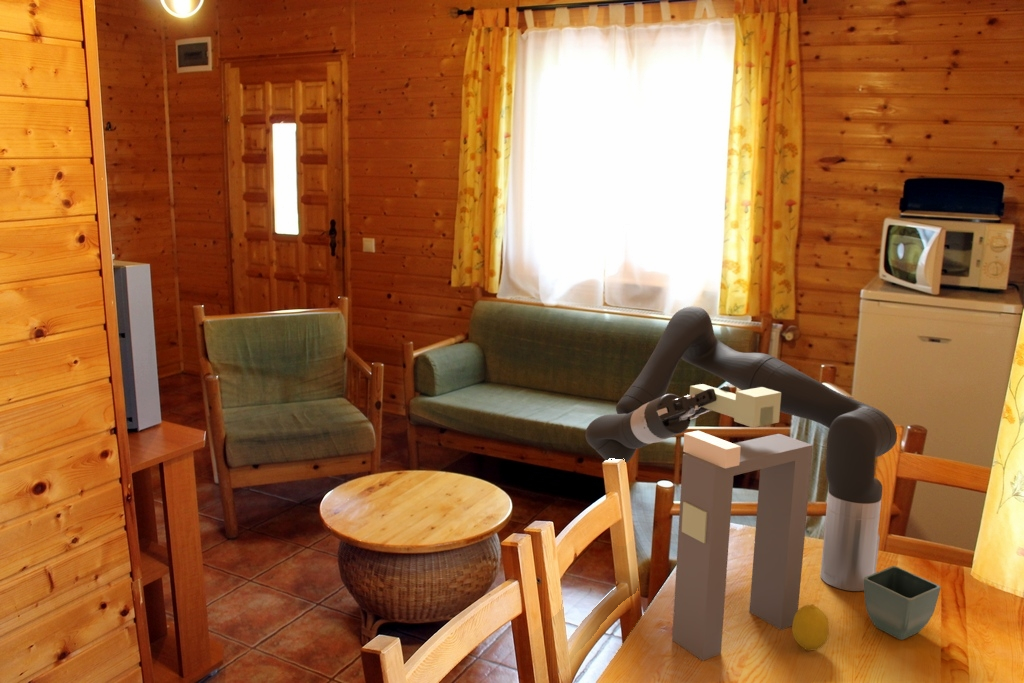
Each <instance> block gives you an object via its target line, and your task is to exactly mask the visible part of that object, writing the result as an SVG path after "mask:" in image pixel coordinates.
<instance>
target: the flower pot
mask: <svg viewBox="0 0 1024 683" xmlns="http://www.w3.org/2000/svg"><path fill="white" fill-rule="evenodd" d="M941 588H942V586H941V585H939V584H937V583H935V582H932V581H930V580H928V579H926V578H923V577H921V576H919V575H916V574H914V573H912V572H909V571H908V570H906V569H903V568H901V567H899V566H896V565H892V566H890V567H887V568H884V569H882V570H880V571H878V572H877V571H876V573H874V574H872V575H869V576H866V577H864V590H863V593H864V604H865V609H866V612H867V615H868V617H869V619H870V621H871V622H872V624H873V626H874V627H875V628H877V629H878V630H880V631H882V632H884V633H886V634H889V635H890V636H892V637H894V638H895V639H898V640H900V641H904V640H905V639H907V638H910V637H911V636H914V635H916V634H918V633H919V632H921V630H923V628H925V626H926V625H927V624H928V623H929V622H930V620H931V619H932V616H933V615H934V614H935V613H934V612H935V609H936V606H937V602H938V600H939V595H940V591H941Z"/></svg>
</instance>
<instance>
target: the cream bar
mask: <svg viewBox="0 0 1024 683" xmlns="http://www.w3.org/2000/svg"><path fill="white" fill-rule="evenodd" d="M733 443H734V442H733ZM733 443H732V442H730V441H727V440H724V439H722V438H719V437H717V436H714V435H713V434H712V435H711V434H709V433H707V432H706V433H705V432H703V431H701V430H694V431H689V432H683V451H682V452H684V453H685V454H686V453H688V454H691V455H693V456H696V457H698V458H700V459H703V460H705V461H708V462H710V463H713V464H715V465H718V466H720V467H722V468H730V467H734V466H738V465H739V463H740V449H741V446H739V445H736V444H733Z"/></svg>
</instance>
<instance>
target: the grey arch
mask: <svg viewBox="0 0 1024 683" xmlns="http://www.w3.org/2000/svg"><path fill="white" fill-rule="evenodd" d="M733 444H736V445H739V446H741V449H740V463H739V465H738V466H734V467H730V468H722V467H720V466H718V465H715V464H713V463H710V462H708V461H705V460H703V459H700V458H698V457H696V456H693V455H691V454H688V453H686V452H685V453H683V454H682V466H681V481H680V482H681V483H680V499H679V500H680V501H679V515H678V516H679V517H678V529H677V530H678V534H677V551H676V567H675V568H676V569H675V587H674V602H673V617H672V618H673V620H672V621H673V622H672V633H671V635H672V637H671V638H672V639H671V641H673V642H675V643H676V644H678V645H679V646H680V647H682V648H683V649H685V650H686V651H687V652H689V653H690V654H692V655H693V656H695V657H696V658H698V659H699V660H701V661H702V662H704V661H707V660H708V659H711V658H714V657H716V656H719V655H722V654H721V653H722V646H723V645H722V644H723V642H722V641H723V629H724V615H725V600H726V599H725V598H726V588H727V587H726V586H727V571H728V557H729V546H730V545H729V543H730V529H731V517H732V516H731V514H732V503H733V502H732V500H733V488H734V476H738V475H741V474H746V473H750V472H755V471H759V470H760V471H759V481H758V496H757V504H756V505H757V507H756V518H755V532H754V543H753V544H754V546H753V559H752V572H751V573H752V574H751V582H750V583H751V585H750V597H749V598H750V599H749V607H748V608H749V609H748V611H749V613H751V614H752V615H754V616H756V617H758V618H759V619H761V620H762V621H765V622H766V623H768V624H769V625H771V626H772V627H775V628H776V629H778V630H780V631H782V630H784V629H787V628H790V627H792V625H793V619H794V616H795V614H796V612H797V611H798V610H799V602H800V592H801V591H800V590H801V582H802V571H803V557H804V550H805V549H804V548H805V537H806V526H807V515H808V505H809V504H808V502H809V493H810V481H811V470H812V469H811V468H812V461H813V460H812V458H813V448H814V445H813V444H811V443H808V442H805V441H803V440H800V439H797V438H793V437H791V436H788V435H784V434H781V433H776V434H769V435H766V436H762V437H756V438H752V439H747V440H744V441H738V442H733Z"/></svg>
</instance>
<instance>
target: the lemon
mask: <svg viewBox="0 0 1024 683" xmlns="http://www.w3.org/2000/svg"><path fill="white" fill-rule="evenodd" d="M791 628H792V629H791V630H792V635H793V637H794V640H795V641H796V643H797V644H798V645H799V646H801V648H803V649H805V650H806V651H808V652H811V651H812V650H813V651H815V650H818V649H821V648H822V647H823V646H824V645H825V644H826V643H827V640H828V638H829V634H830V624H829V620H828V617H827V615H826V613H825V612H824V611H823V609H821V608H820V607H818V606H816V605H815V604H808V605H807V604H806V605H803V606H801V607H799V608H798V611H797V612H796V614H795V616H794V619H793V625H792V626H791Z"/></svg>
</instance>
